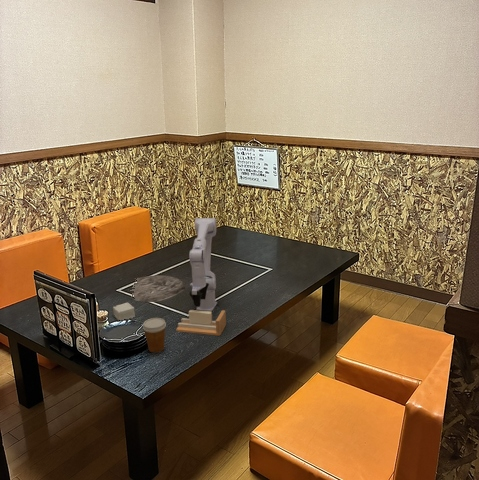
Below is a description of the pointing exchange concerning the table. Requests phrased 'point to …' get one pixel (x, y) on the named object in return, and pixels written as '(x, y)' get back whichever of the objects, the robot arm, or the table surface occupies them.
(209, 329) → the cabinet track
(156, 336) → the disposable coffee cup
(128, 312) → the small box
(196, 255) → the robot arm
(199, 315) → the door panel
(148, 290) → the grey fur rug
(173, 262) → the table surface
